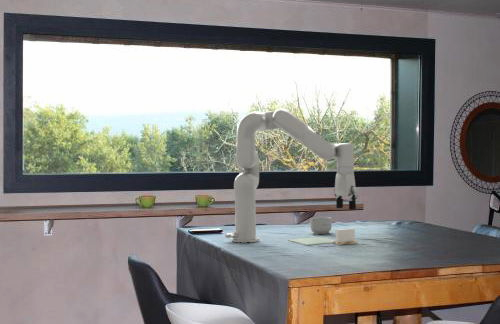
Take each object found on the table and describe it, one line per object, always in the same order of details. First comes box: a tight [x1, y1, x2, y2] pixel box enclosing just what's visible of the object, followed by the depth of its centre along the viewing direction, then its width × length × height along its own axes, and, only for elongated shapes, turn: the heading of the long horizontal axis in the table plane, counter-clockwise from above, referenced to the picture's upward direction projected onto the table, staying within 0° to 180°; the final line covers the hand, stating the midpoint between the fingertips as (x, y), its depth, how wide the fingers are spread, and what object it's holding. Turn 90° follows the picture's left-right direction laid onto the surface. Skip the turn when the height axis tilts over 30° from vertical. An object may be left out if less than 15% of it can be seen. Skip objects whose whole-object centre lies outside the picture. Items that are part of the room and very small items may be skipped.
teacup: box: [309, 216, 333, 235], centre depth 337 cm, size 14×11×8 cm
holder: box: [332, 240, 358, 246], centre depth 302 cm, size 10×5×1 cm, turn 117°
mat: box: [287, 236, 335, 246], centre depth 309 cm, size 18×16×1 cm
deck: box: [334, 228, 356, 245], centre depth 302 cm, size 9×2×6 cm, turn 117°
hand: (345, 208), depth 302 cm, fingers open, 9 cm apart
